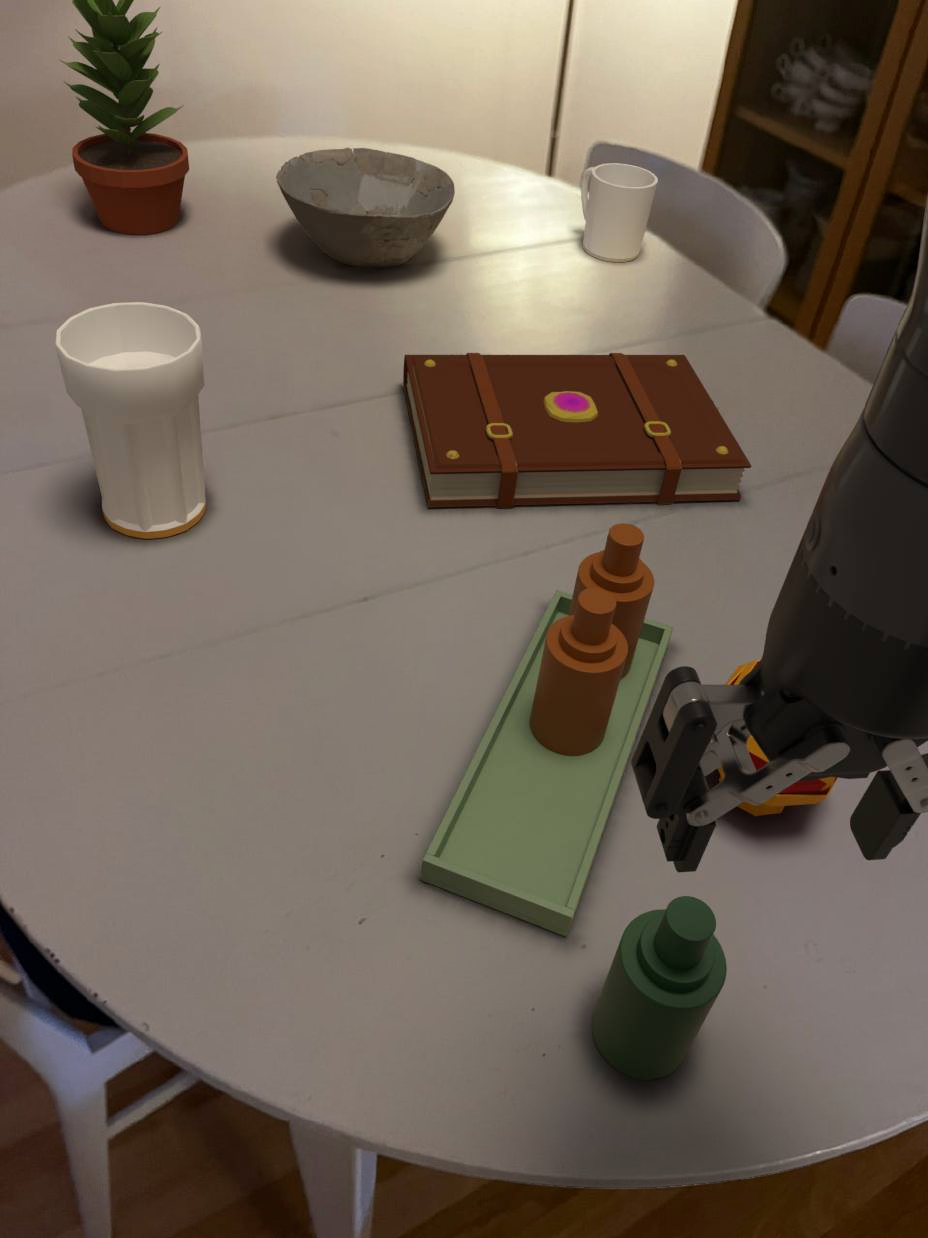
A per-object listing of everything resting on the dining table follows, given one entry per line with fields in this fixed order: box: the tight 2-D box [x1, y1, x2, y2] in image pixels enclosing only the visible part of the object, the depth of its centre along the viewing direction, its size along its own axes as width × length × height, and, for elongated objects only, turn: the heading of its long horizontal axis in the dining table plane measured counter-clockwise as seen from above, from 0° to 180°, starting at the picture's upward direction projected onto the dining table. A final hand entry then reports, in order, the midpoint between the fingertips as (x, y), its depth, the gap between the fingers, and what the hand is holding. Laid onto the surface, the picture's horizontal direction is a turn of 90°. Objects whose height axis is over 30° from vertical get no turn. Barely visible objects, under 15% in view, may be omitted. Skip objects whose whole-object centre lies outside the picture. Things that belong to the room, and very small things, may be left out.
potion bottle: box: [717, 659, 839, 817], centre depth 70 cm, size 10×10×15 cm
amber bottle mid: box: [530, 588, 628, 756], centre depth 73 cm, size 6×6×13 cm
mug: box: [580, 162, 659, 263], centre depth 141 cm, size 11×9×10 cm
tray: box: [420, 589, 674, 937], centre depth 76 cm, size 29×10×2 cm, turn 159°
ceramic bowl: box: [275, 147, 456, 268], centre depth 132 cm, size 22×23×10 cm
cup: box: [54, 301, 207, 540], centre depth 87 cm, size 11×11×17 cm
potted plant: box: [57, 0, 190, 236], centre depth 128 cm, size 15×15×30 cm
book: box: [402, 352, 753, 509], centre depth 106 cm, size 23×32×5 cm
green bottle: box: [591, 895, 728, 1081], centre depth 57 cm, size 6×6×13 cm
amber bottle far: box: [568, 522, 655, 680], centre depth 79 cm, size 6×6×13 cm
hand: (773, 848), depth 44 cm, fingers open, 8 cm apart
